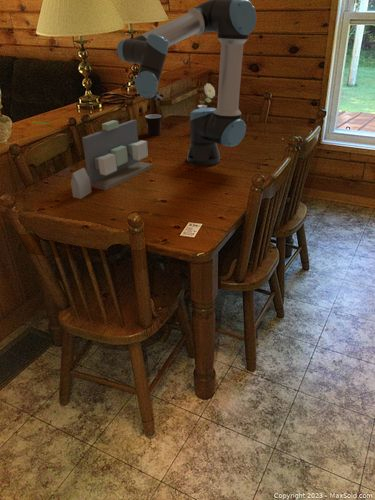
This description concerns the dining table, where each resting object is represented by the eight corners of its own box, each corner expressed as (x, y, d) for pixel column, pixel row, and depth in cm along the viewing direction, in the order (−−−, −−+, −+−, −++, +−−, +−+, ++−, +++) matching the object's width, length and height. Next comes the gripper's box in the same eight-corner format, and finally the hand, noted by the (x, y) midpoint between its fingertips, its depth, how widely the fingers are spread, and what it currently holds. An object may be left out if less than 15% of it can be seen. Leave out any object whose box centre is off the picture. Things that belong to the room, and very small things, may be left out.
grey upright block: (91, 192, 171) (88, 168, 165) (80, 198, 166) (76, 174, 160) (84, 190, 172) (80, 166, 167) (73, 197, 167) (69, 172, 162)
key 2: (148, 156, 188) (147, 141, 185) (138, 160, 184) (137, 145, 180) (133, 152, 193) (131, 138, 189) (123, 156, 188) (122, 142, 185)
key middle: (128, 161, 183) (126, 146, 179) (117, 166, 178) (115, 151, 175) (113, 158, 187) (111, 143, 184) (102, 162, 182) (100, 147, 179)
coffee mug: (160, 137, 230) (159, 118, 225) (144, 136, 232) (143, 118, 226) (165, 131, 240) (164, 113, 234) (150, 130, 241) (149, 112, 236)
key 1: (116, 170, 174) (115, 154, 171) (105, 175, 170) (103, 159, 167) (101, 166, 179) (99, 151, 175) (90, 171, 174) (88, 155, 171)
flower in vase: (198, 135, 231) (198, 86, 218) (188, 130, 240) (187, 83, 227) (219, 132, 236) (220, 84, 223) (208, 127, 245) (209, 80, 232)
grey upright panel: (152, 167, 192) (148, 116, 181) (105, 190, 171) (98, 134, 160) (125, 161, 200) (120, 111, 188) (77, 182, 179) (68, 128, 168)
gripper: (126, 86, 156) (130, 91, 179) (157, 106, 159) (157, 109, 181) (137, 67, 154) (140, 75, 177) (168, 88, 157) (166, 93, 180)
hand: (148, 92), depth 179 cm, fingers closed
